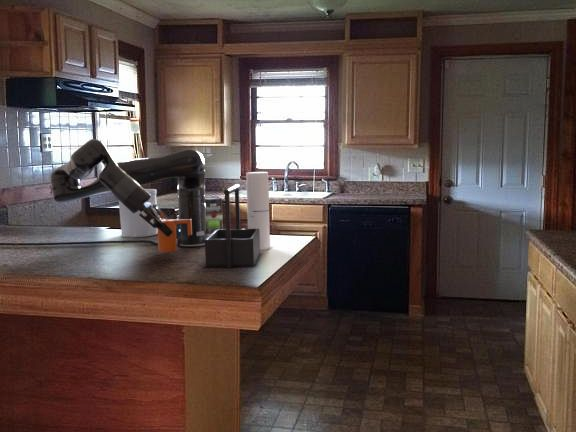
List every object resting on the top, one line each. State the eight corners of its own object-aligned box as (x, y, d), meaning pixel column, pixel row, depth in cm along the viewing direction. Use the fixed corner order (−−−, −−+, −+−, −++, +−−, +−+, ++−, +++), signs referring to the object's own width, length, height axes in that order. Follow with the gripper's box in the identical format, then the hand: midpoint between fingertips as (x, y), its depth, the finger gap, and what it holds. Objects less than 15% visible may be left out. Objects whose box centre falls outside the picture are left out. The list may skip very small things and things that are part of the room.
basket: (205, 268, 178) (201, 189, 176) (217, 253, 202) (215, 184, 200) (253, 267, 178) (251, 188, 175) (260, 252, 202) (258, 183, 199)
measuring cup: (156, 252, 188) (155, 221, 187) (160, 249, 193) (159, 219, 192) (190, 251, 187) (189, 220, 186) (193, 248, 193) (192, 218, 192)
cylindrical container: (267, 250, 207) (265, 172, 204) (245, 249, 208) (243, 173, 205) (272, 246, 214) (270, 171, 211) (251, 246, 215) (249, 172, 212)
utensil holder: (139, 238, 240) (137, 192, 238) (111, 236, 248) (109, 191, 246) (166, 233, 252) (164, 189, 250) (139, 231, 260) (137, 188, 258)
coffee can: (227, 234, 245) (226, 198, 243) (201, 236, 240) (200, 199, 239) (217, 231, 254) (216, 196, 253) (192, 233, 249) (191, 197, 248)
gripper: (129, 200, 196) (169, 238, 197) (115, 205, 182) (158, 245, 183) (145, 183, 196) (186, 221, 196) (132, 186, 181) (176, 227, 182)
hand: (172, 232), depth 190 cm, fingers closed on measuring cup, 5 cm apart
